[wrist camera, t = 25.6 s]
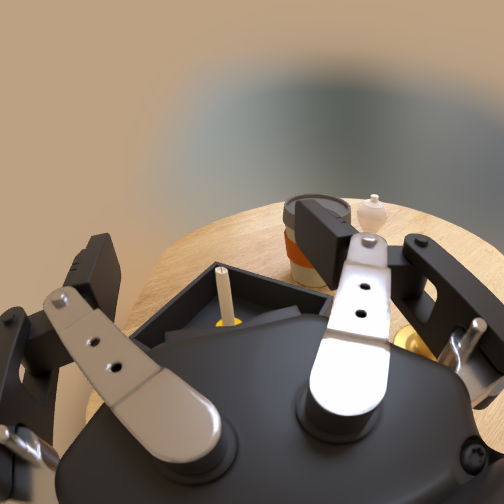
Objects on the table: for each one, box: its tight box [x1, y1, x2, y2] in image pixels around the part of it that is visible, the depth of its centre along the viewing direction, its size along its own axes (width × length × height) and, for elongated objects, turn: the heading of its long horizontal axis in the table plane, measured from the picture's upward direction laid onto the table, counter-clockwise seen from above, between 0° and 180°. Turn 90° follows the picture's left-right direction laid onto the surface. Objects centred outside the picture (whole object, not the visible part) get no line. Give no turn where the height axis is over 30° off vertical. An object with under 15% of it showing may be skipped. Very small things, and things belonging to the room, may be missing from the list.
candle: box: [215, 267, 242, 326], centre depth 38 cm, size 5×5×16 cm
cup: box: [393, 324, 438, 362], centre depth 38 cm, size 12×12×5 cm
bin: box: [128, 262, 333, 353], centre depth 41 cm, size 22×22×7 cm
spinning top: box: [357, 195, 388, 234], centre depth 66 cm, size 8×8×12 cm
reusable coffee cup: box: [283, 193, 351, 287], centre depth 55 cm, size 12×13×15 cm
